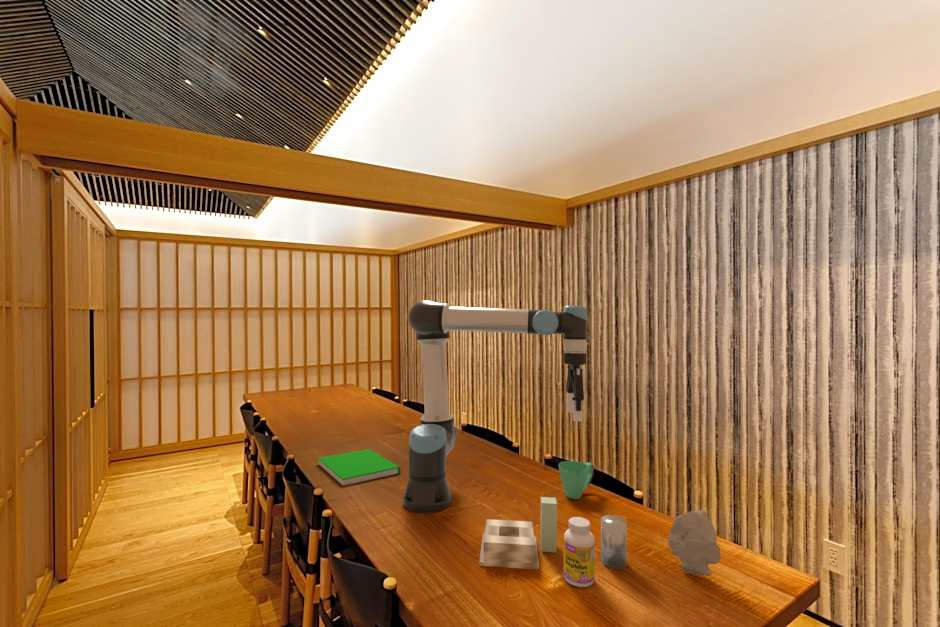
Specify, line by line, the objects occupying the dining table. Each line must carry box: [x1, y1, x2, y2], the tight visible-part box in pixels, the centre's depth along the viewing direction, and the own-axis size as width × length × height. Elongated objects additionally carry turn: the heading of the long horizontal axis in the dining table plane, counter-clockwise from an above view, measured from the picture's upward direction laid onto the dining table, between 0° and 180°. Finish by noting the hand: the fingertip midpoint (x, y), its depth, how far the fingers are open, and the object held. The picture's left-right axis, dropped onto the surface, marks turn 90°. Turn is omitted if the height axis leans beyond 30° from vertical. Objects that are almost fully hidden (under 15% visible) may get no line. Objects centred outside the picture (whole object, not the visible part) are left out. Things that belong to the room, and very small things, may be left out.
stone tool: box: [667, 509, 722, 577], centre depth 97 cm, size 11×4×15 cm, turn 51°
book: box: [317, 448, 402, 486], centre depth 165 cm, size 22×28×3 cm
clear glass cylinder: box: [600, 514, 628, 571], centre depth 102 cm, size 6×6×10 cm
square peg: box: [539, 496, 558, 553], centre depth 108 cm, size 4×4×12 cm
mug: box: [558, 460, 595, 500], centre depth 143 cm, size 15×10×10 cm
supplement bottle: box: [563, 516, 596, 588], centre depth 95 cm, size 7×7×13 cm
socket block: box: [478, 518, 540, 570], centre depth 106 cm, size 14×14×5 cm
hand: (574, 416), depth 141 cm, fingers open, 13 cm apart
